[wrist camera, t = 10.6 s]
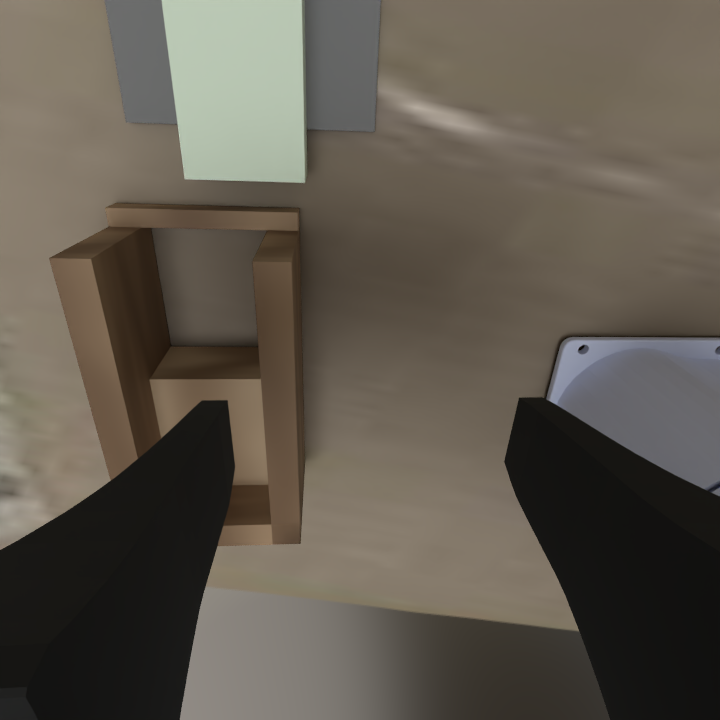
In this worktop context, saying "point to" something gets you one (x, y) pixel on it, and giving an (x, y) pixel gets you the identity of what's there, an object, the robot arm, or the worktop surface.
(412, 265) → the worktop surface
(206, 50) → the sage bar
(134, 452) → the pocket block
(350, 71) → the mat
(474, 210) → the worktop surface
